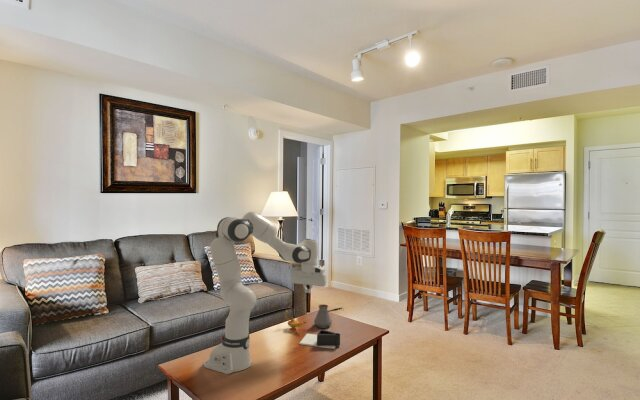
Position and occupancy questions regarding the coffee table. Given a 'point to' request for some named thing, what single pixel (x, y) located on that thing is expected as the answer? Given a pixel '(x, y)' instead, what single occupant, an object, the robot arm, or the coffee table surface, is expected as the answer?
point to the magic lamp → (293, 323)
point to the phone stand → (328, 338)
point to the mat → (312, 341)
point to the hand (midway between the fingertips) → (307, 292)
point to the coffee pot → (324, 316)
